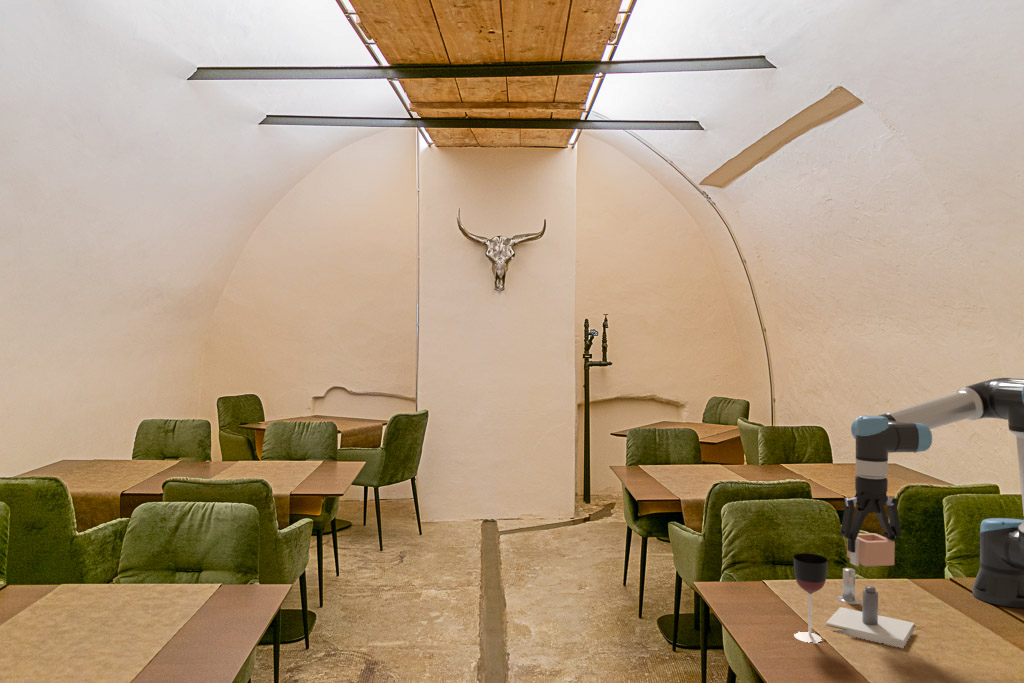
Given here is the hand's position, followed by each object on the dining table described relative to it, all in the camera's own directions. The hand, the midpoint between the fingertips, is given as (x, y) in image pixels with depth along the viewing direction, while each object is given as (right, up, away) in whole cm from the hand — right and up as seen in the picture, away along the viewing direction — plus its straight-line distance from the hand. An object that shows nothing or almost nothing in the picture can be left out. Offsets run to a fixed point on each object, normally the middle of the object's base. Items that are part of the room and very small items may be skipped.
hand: (870, 563), depth 193 cm
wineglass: (-17, -18, -4) cm, 25 cm away
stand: (+3, -17, +18) cm, 25 cm away
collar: (0, +1, 0) cm, 1 cm away
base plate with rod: (0, -17, 0) cm, 17 cm away
